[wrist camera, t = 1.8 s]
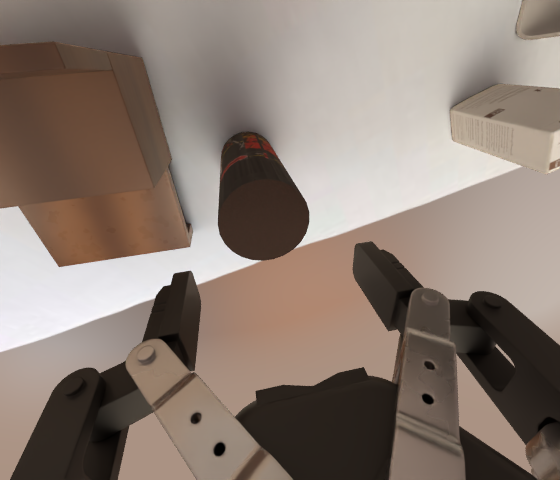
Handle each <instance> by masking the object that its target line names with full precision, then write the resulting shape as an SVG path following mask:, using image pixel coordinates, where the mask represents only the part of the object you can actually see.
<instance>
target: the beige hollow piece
mask: <svg viewBox="0 0 560 480" xmlns="http://www.w3.org/2000/svg"><path fill="white" fill-rule="evenodd" d="M516 31H517V34H518V35H519V37H521V38H522V39H525V40H533V39H541V38H548V37H556V36H560V0H523V2H522V6H521V10H520V14H519V17H518V21H517V26H516Z"/></svg>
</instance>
